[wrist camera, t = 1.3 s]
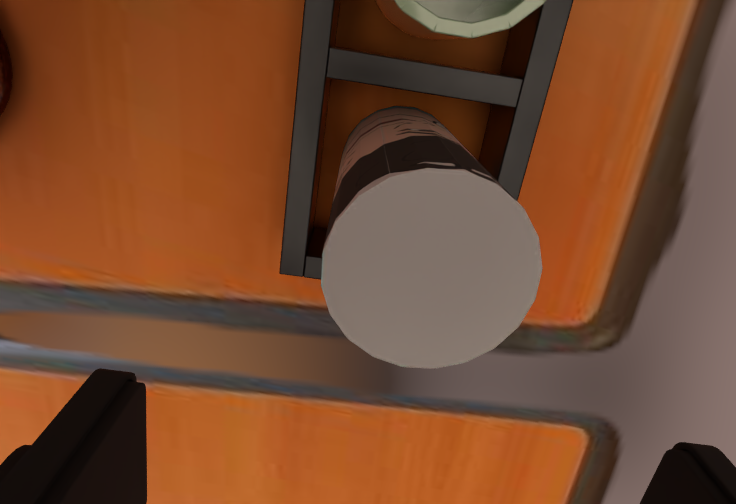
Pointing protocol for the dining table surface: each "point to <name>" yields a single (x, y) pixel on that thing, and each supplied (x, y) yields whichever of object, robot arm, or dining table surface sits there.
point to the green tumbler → (455, 16)
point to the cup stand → (504, 91)
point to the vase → (4, 75)
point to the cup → (424, 246)
